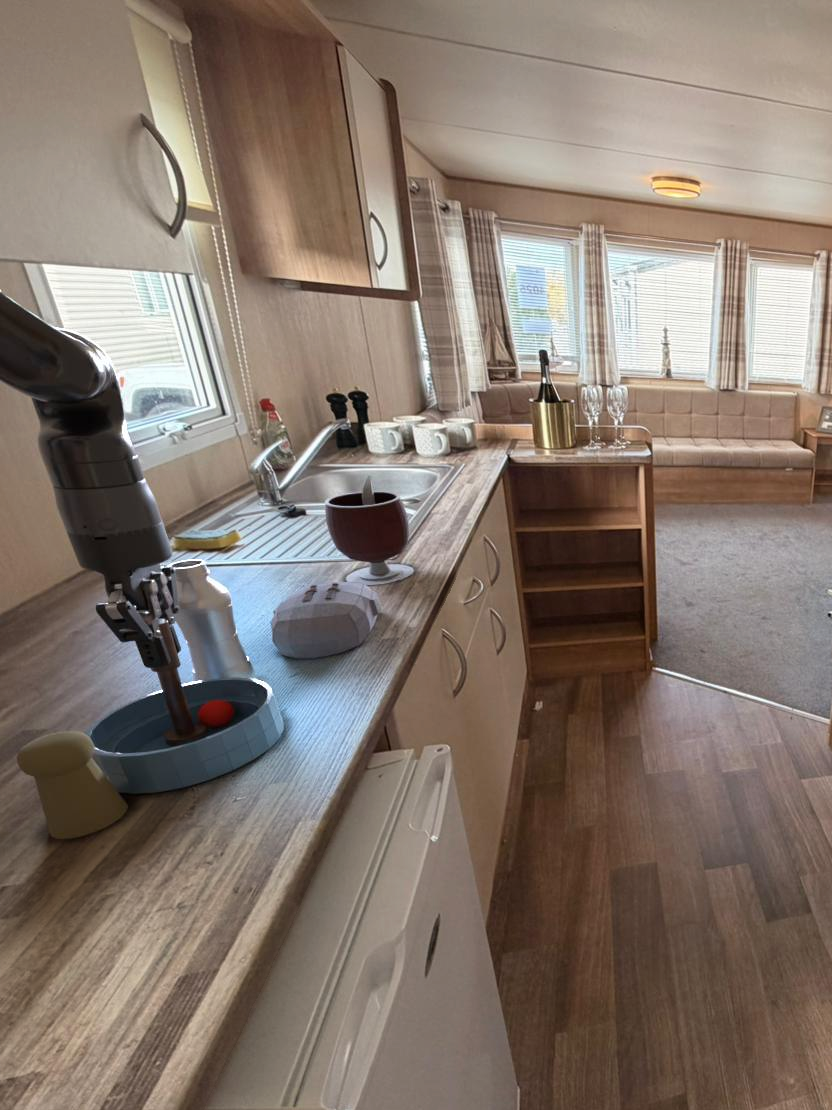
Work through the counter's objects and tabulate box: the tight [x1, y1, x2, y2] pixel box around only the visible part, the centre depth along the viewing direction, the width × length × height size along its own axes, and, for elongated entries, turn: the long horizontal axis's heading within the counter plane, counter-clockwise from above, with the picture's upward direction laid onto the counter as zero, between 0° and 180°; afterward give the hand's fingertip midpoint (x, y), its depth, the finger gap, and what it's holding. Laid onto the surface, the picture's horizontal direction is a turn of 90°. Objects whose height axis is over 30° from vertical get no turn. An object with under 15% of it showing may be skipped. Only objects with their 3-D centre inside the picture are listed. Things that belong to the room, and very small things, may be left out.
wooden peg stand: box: [144, 619, 208, 746], centre depth 78 cm, size 4×4×16 cm
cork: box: [16, 730, 129, 840], centre depth 67 cm, size 6×6×11 cm
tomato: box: [198, 700, 234, 728], centre depth 84 cm, size 4×4×4 cm
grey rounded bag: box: [269, 581, 381, 660], centre depth 109 cm, size 15×8×20 cm
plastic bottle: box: [167, 559, 257, 682], centre depth 89 cm, size 6×7×20 cm
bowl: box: [84, 677, 285, 795], centre depth 79 cm, size 17×17×6 cm
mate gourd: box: [324, 475, 415, 586], centre depth 132 cm, size 16×14×20 cm
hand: (163, 659), depth 77 cm, fingers closed on wooden peg stand, 2 cm apart
